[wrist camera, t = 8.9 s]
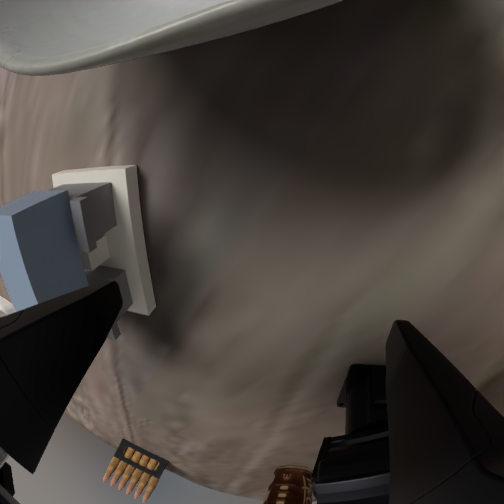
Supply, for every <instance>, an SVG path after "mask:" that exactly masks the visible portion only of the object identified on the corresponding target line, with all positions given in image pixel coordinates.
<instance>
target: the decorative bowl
mask: <svg viewBox="0 0 504 504" xmlns="http://www.w3.org/2000/svg"><path fill="white" fill-rule="evenodd" d="M341 1H343V0H0V67H2V68H4V69H6V70H8V71H11V72H14V73H17V74H22V75H30V76H45V75H54V74H64V73H70V72H75V71H81V70H86V69H92V68H97V67H102V66H106V65H111V64H115V63H120V62H125V61H129V60H134V59H138V58H142V57H146V56H150V55H154V54H158V53H163V52H167V51H172V50H176V49H179V48H183V47H187V46H191V45H196V44H200V43H204V42H208V41H211V40H215V39H219V38H223V37H227V36H231V35H234V34H238V33H241V32H245V31H248V30H252V29H256V28H259V27H263V26H266V25H269V24H272V23H276V22H279V21H283V20H286V19H289V18H292V17H295V16H298V15H302V14H305V13H308V12H312V11H314V10H317V9H320V8H323V7H326V6H329V5H332V4H335V3H338V2H341Z"/></svg>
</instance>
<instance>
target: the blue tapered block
mask: <svg viewBox="0 0 504 504" xmlns="http://www.w3.org/2000/svg"><path fill="white" fill-rule="evenodd" d="M0 273H1V276H2V278H3V281H4V284H5V287H6V289H7V292H8V294H9V297H10V299H11V302H12V304H13V306H14V309H15V311H16V312H17V311H20V310H23V309H24V310H25V309H26V308H28V307H31V306H34V305H36V304H39V303H42V302H45V301H47V300H50V299H53V298H56V297H58V296H61V295H64V294H67V293H70V292H72V291H75V290H78V289H81V288H84V287H87V286H89V285H88V281H87V278H86V274H85V270H84V266H83V263H82V259H81V254H80V250H79V246H78V242H77V237H76V232H75V227H74V222H73V217H72V212H71V206H70V200H69V193H68V190H53V191H35V192H31V193H29V194H27V195H24V196H22V197H20V198H18V199H15V200H13V201H11V202H9V203H7V204H4V205H2V206H0Z"/></svg>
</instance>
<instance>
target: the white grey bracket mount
mask: <svg viewBox="0 0 504 504" xmlns="http://www.w3.org/2000/svg"><path fill="white" fill-rule="evenodd" d="M52 179H53V186H54V188H53V189H50V190H48V191H53V190H68V193H69V200H70V206H71V212H72V217H73V222H74V227H75V232H76V237H77V242H78V246H79V250H80V254H81V259H82V263H83V266H84V270H85V274H86V278H87V281H88V285H92V284H95V283H98V282H101V281H104V280H113V281H116V282H117V283H118V284H119V288H120V292H121V296H122V299H123V306H122V309H121V310H120V312H119V314H118V316H117V318H116V320H115V322H114V324H113V326H112V328H111V330H110V332H109V334H108V336H107V338H110V339H113V340H116V339H117V338H118V337H119V335H120V334H121V333H120V330H119V327H118V324H117V321H118V320H119V319H120V317H121V316H122V315H123V314H124V313H125V312H126V311H131V312H135V313H139V314H144V315H148V316H149V315H150V314H151V312H152V311H153V310H154V309H155V307H156V302H155V297H154V292H153V287H152V282H151V276H150V270H149V264H148V258H147V252H146V246H145V239H144V232H143V224H142V216H141V208H140V199H139V189H138V178H137V165H123V166H107V167H95V168H83V169H73V170H64V171H60V172H58V173H55V174H52Z"/></svg>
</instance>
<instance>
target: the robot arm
mask: <svg viewBox="0 0 504 504" xmlns="http://www.w3.org/2000/svg"><path fill="white" fill-rule="evenodd" d="M122 306H123V299H122V296H121V292H120V288H119V284H118V283H117V282H116V281H113V280H104V281H101V282H98V283H95V284H92V285H89V286H87V287H84V288H81V289H78V290H75V291H72V292H70V293H67V294H64V295H61V296H58V297H56V298H53V299H50V300H47V301H45V302H42V303H39V304H36V305H34V306H31V307H28V308H26V309H25V310H24V309H23V310H20V311H17V312H15V313H12V314H9V315H6V316H3V317H0V504H20V503H19V502H18V501H17V500H15V499H14V498H13V495H14V494H15V491H14V485H13V478H12V471H11V466H10V465H9V464H8V463H7V462H6V460H7V459H8V457H9V456H11V457H12V458H13V459H14V460H15V461H17V462H18V463H19V464H20V465H22V466H23V467H24V468H25V469H27V470H28V471H29V472H30V473H32V474H33V473H34V472H35V470H36V468H37V466H38V464H39V462H40V459H41V457H42V455H43V453H44V451H45V449H46V447H47V445H48V442H49V441H50V439H51V436H52V434H53V432H54V430H55V428H56V426H57V424H58V422H59V420H60V418H61V417H62V415H63V413H64V411H65V409H66V407H67V405H68V404H69V402H70V400H71V398H72V396H73V395H74V393H75V391H76V389H77V387H78V386H79V384H80V382H81V380H82V379H83V377H84V375H85V374H86V372H87V370H88V368H89V367H90V365H91V363H92V362H93V360H94V358H95V357H96V355H97V353H98V352H99V350H100V348H101V347H102V345H103V343H104V342H105V340H106V338H107V336H108V334H109V332H110V330H111V328H112V326H113V324H114V322H115V320H116V318H117V316H118V314H119V312H120V310H121V309H122ZM354 369H356V370H354ZM337 406H338V407H345V408H346V427H345V435H342V436H337V437H326V438H324V440H323V443H322V445H321V448H320V451H319V454H318V458H317V461H316V464H315V467H314V470H313V472H312V475H311V485H312V487H313V493H314V496H315V498H316V499H317V504H504V417H503V416H502V415H501V414H500V413H499V412H498V411H497V410H496V409H495V408H494V407H493V406H492V405H491V404H490V403H489V402H488V401H487V400H486V399H485V398H484V397H483V395H482V394H481V393H480V392H479V391H478V390H477V391H476V388H475V387H474V386H473V385H472V384H471V383H470V382H469V381H468V380H467V379H466V378H465V377H464V375H463V374H462V373H461V372H460V371H459V370H458V369H457V368H456V367H455V366H454V365H453V364H452V363H451V362H450V361H449V360H448V359H447V358H446V357H445V356H444V355H443V354H442V353H441V352H440V351H439V350H438V349H437V348H436V347H435V346H434V345H433V344H432V343H431V342H430V341H429V340H428V339H427V338H426V337H425V336H424V335H422V334H421V333H420V332H419V331H418V330H417V329H416V328H415V327H414V326H413V325H412V324H411V323H410V322H409V321H407V320H396V321H394V323H393V325H392V328H391V331H390V334H389V336H388V339H387V342H386V366H378V365H360V364H353V365H351V366H350V367H349V370H348V373H347V376H346V379H345V381H344V384H343V387H342V390H341V392H340V395H339V397H338V400H337Z"/></svg>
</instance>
